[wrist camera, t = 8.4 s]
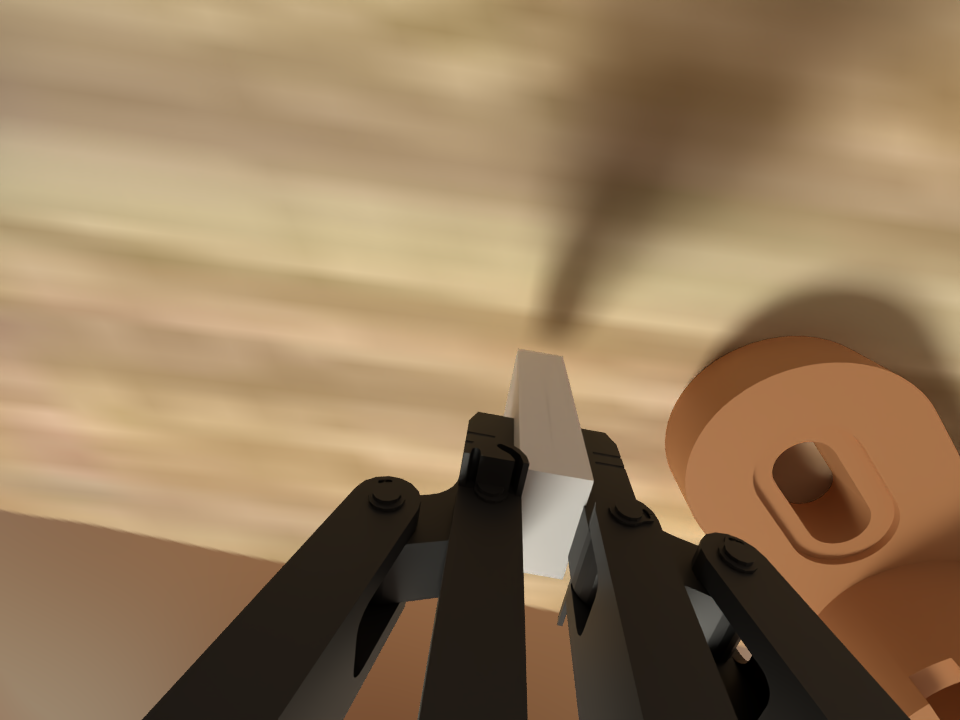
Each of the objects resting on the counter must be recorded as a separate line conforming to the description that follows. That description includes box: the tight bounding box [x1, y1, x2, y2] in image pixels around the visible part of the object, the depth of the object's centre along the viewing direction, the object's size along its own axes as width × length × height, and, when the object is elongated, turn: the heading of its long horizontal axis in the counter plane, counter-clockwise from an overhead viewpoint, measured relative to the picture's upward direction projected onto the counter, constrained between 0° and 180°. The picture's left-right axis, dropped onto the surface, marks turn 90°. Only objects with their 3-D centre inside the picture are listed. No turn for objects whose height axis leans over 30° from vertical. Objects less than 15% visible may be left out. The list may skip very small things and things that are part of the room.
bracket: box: [665, 336, 960, 720], centre depth 17 cm, size 18×8×7 cm, turn 38°
